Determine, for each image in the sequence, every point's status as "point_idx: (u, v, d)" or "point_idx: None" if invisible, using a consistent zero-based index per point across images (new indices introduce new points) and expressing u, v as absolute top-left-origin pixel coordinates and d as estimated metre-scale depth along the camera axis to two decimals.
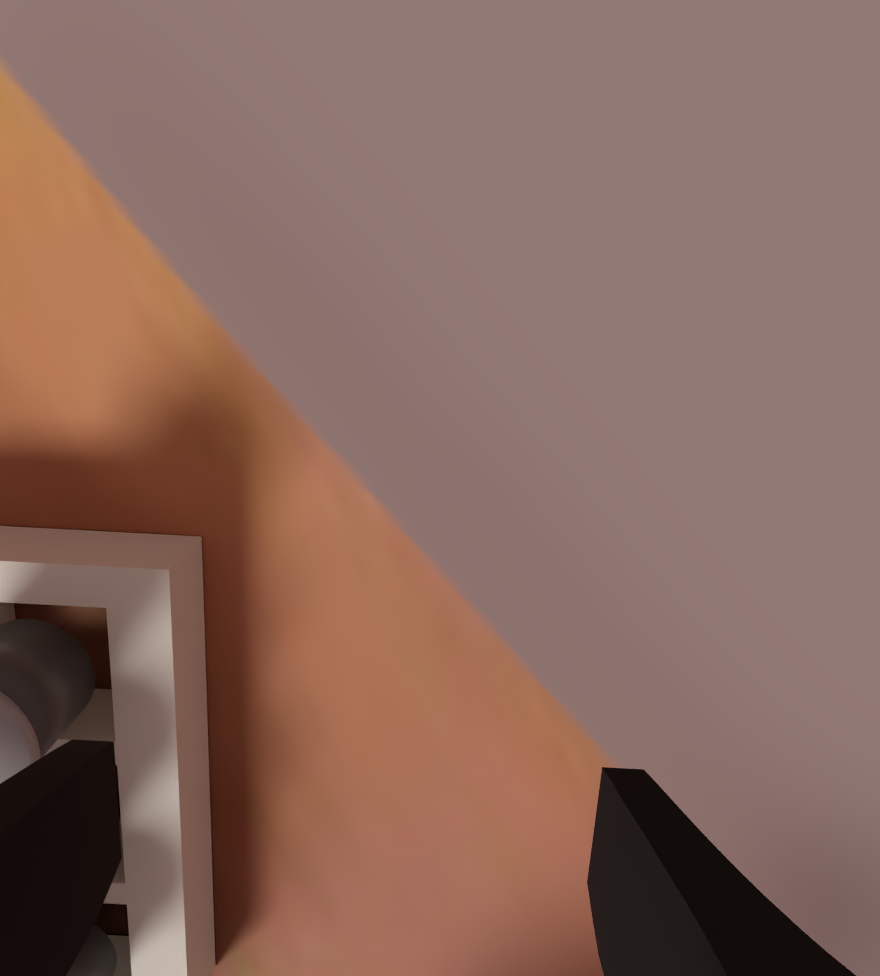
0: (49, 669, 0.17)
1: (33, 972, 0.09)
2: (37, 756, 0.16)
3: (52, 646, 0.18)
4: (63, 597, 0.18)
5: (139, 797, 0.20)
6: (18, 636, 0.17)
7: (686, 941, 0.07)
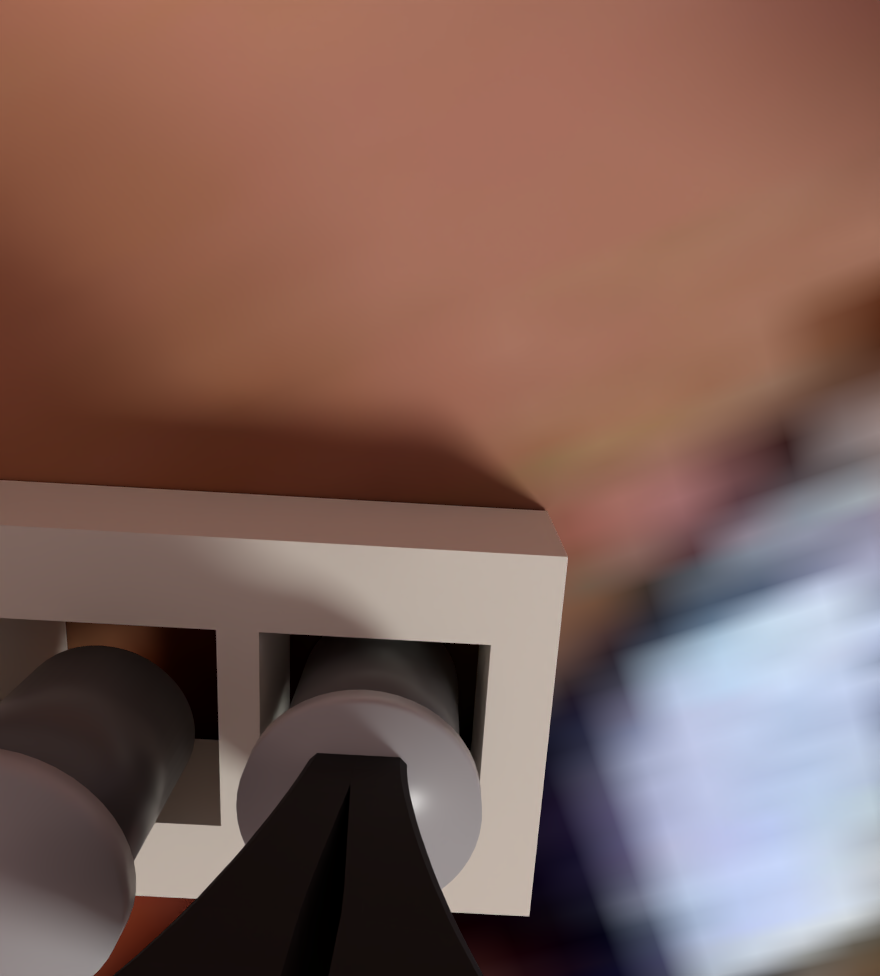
0: None
1: None
2: None
3: None
4: None
5: (39, 590, 0.12)
6: None
7: None
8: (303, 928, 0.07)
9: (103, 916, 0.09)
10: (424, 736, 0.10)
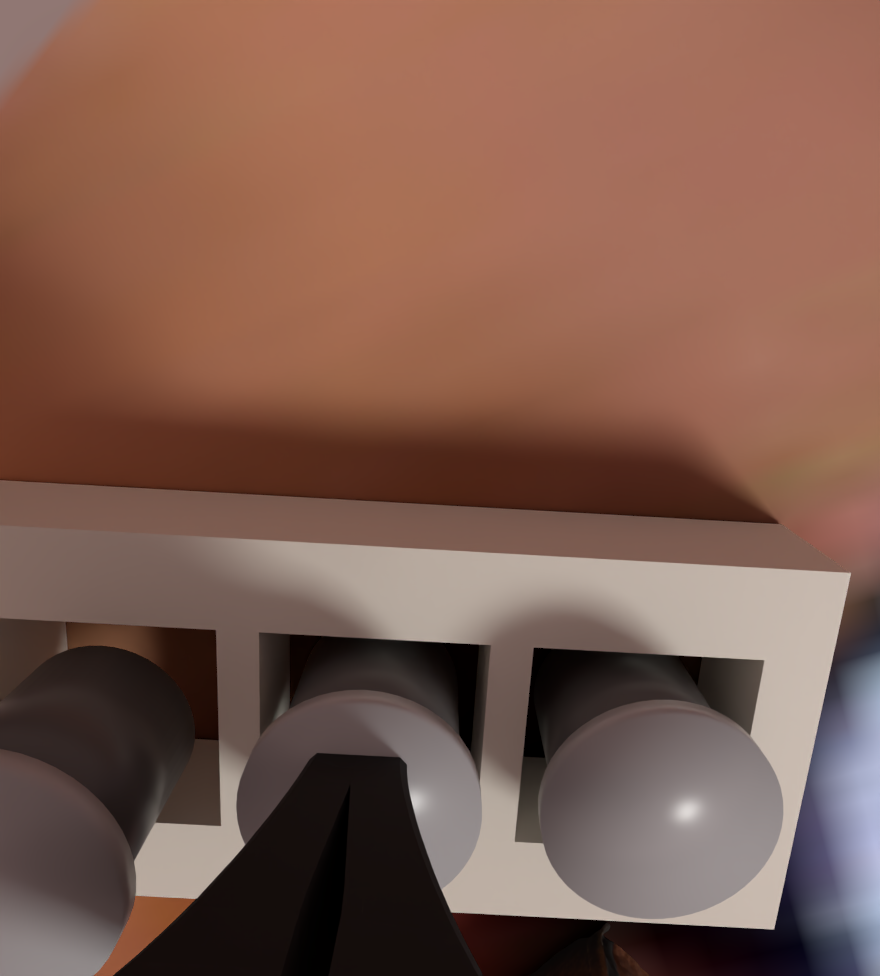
0: None
1: None
2: None
3: None
4: None
5: (318, 605, 0.12)
6: None
7: None
8: (303, 928, 0.07)
9: (463, 833, 0.11)
10: (735, 745, 0.11)
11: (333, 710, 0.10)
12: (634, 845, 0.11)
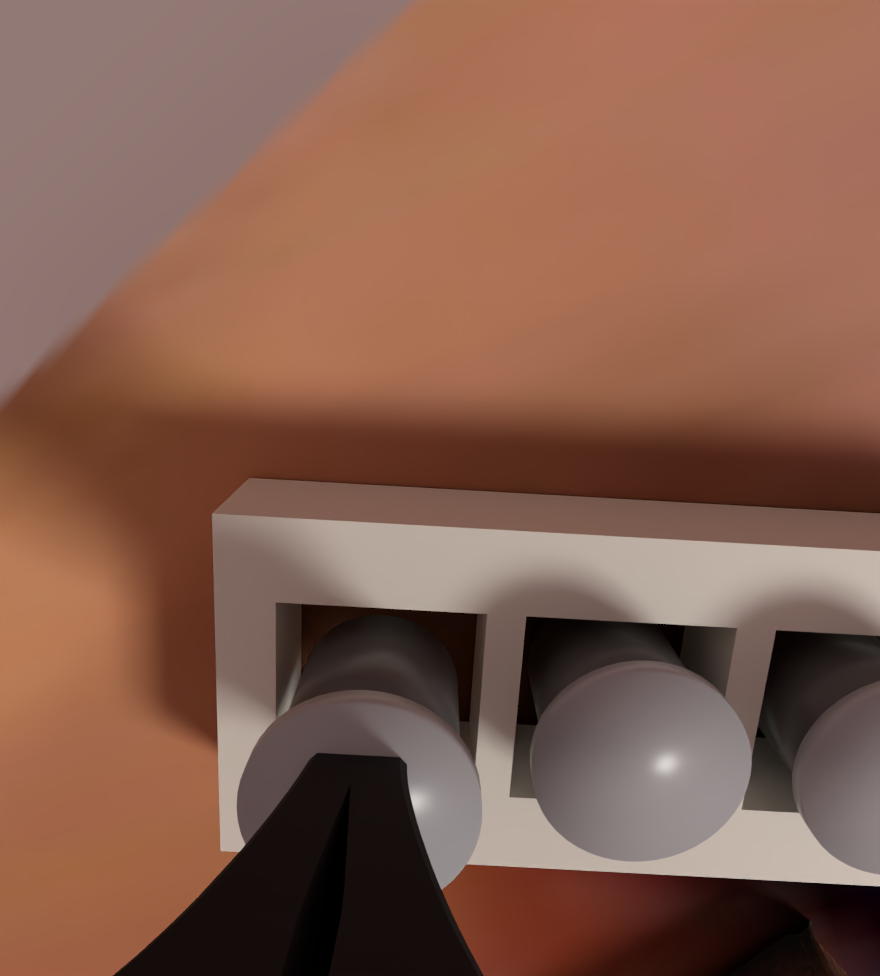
0: (320, 665, 0.13)
1: None
2: (365, 694, 0.11)
3: (312, 659, 0.13)
4: (262, 654, 0.13)
5: (583, 592, 0.13)
6: None
7: None
8: (303, 928, 0.07)
9: (733, 788, 0.12)
10: None
11: (628, 677, 0.12)
12: None
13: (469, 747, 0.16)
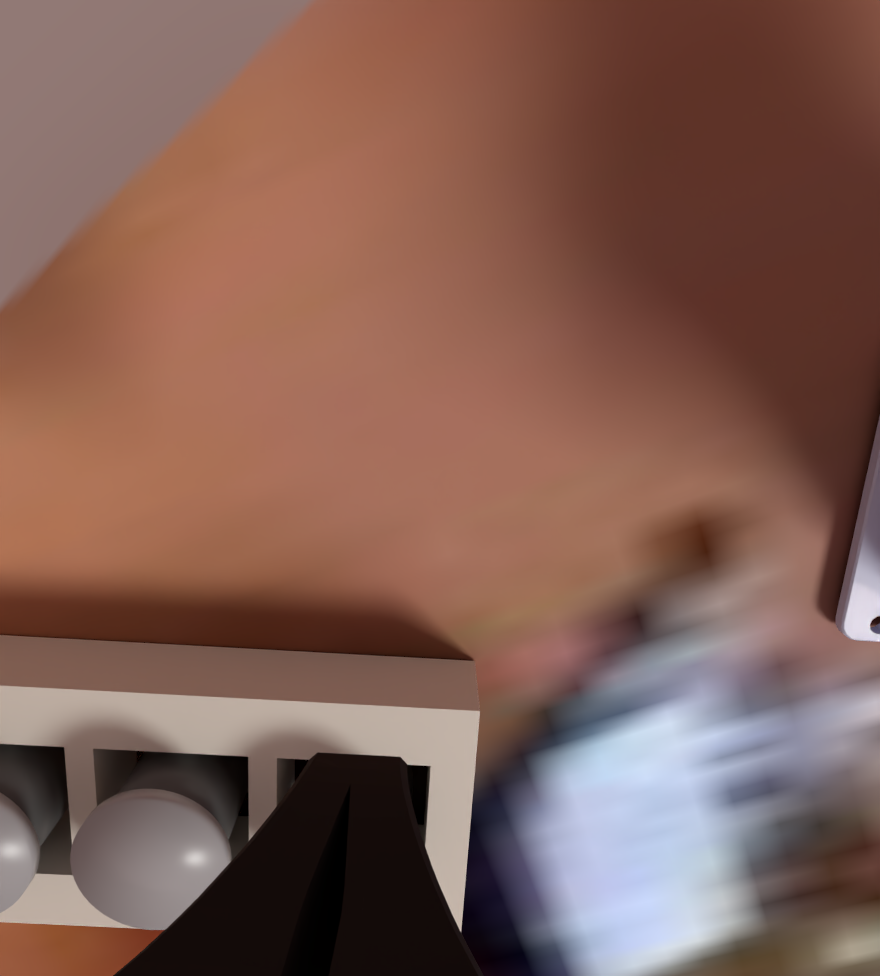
0: None
1: None
2: None
3: None
4: None
5: (131, 731, 0.18)
6: None
7: None
8: (303, 928, 0.07)
9: None
10: None
11: (128, 803, 0.17)
12: None
13: None
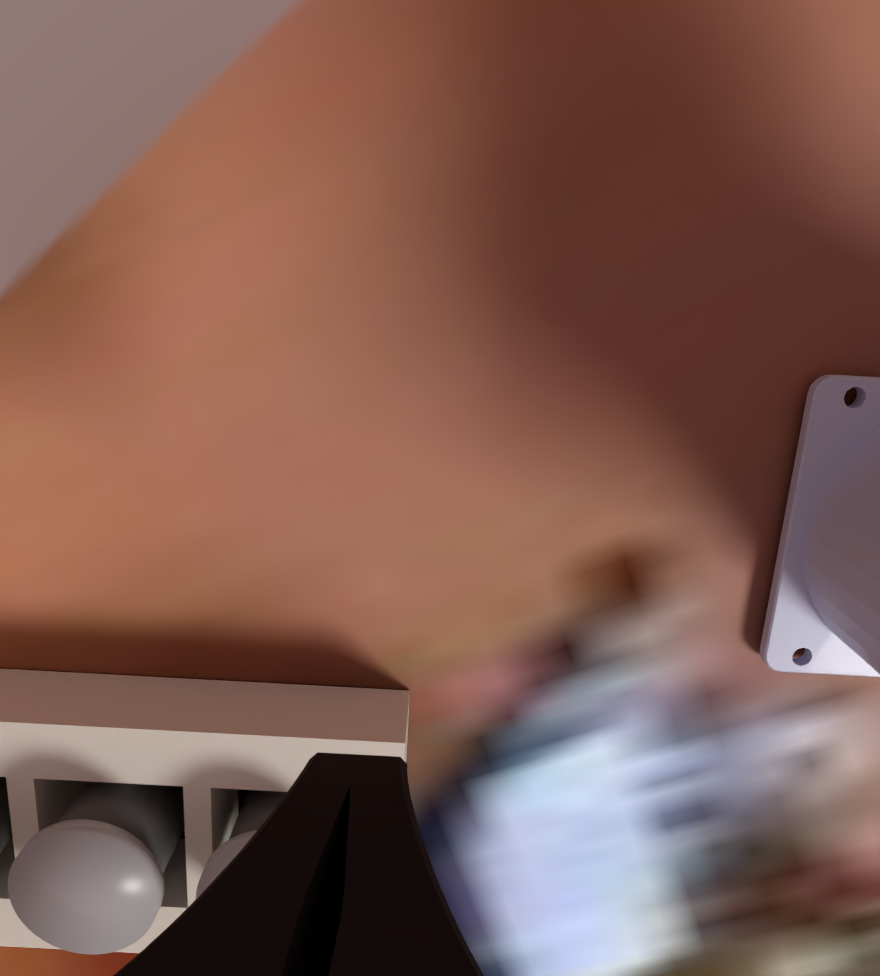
0: None
1: None
2: None
3: None
4: None
5: (69, 762, 0.19)
6: None
7: None
8: (303, 928, 0.07)
9: (148, 905, 0.18)
10: None
11: (61, 834, 0.17)
12: None
13: None
